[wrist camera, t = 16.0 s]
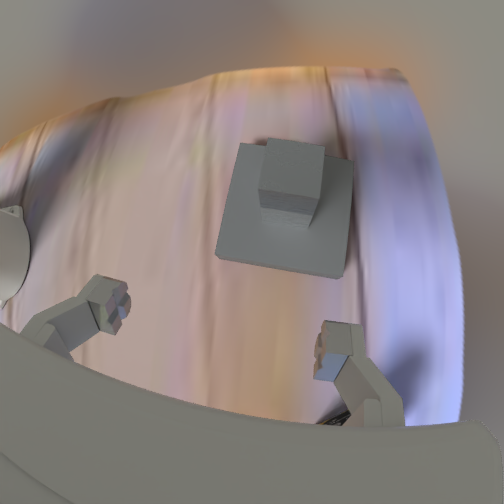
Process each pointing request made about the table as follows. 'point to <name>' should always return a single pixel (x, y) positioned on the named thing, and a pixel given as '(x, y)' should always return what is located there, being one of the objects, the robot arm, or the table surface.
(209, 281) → the table surface
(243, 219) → the charcoal stand
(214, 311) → the table surface
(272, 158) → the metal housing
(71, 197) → the table surface
